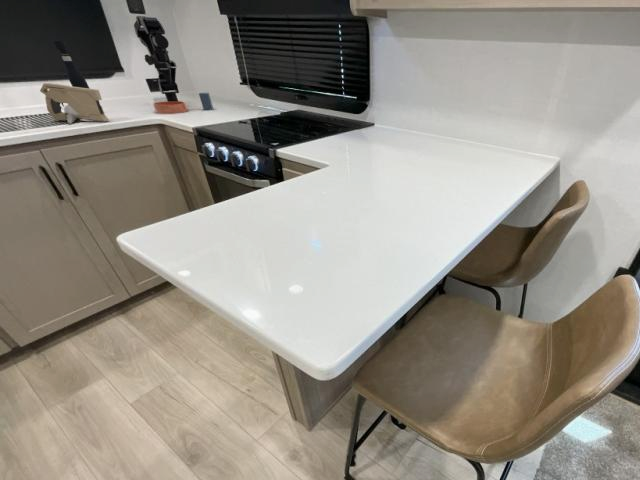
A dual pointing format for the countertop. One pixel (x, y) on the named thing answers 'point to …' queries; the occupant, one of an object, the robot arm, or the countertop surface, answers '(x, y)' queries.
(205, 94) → the block
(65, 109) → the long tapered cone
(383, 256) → the countertop surface
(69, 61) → the wine bottle
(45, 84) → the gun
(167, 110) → the bowl
